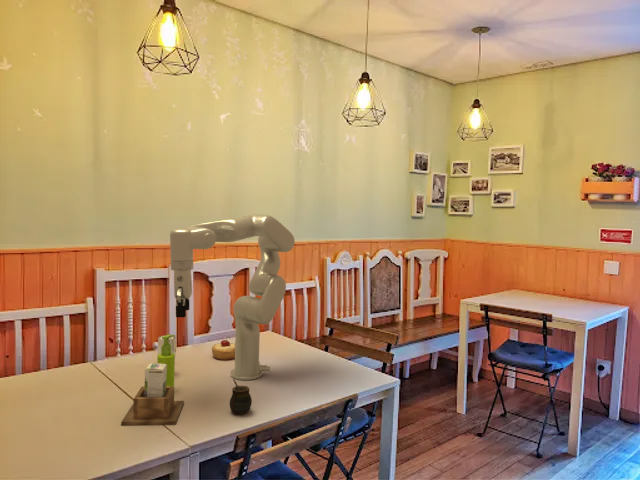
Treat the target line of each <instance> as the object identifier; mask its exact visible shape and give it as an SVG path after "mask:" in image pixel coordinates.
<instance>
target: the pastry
mask: <svg viewBox="0 0 640 480" xmlns="http://www.w3.org/2000/svg"><path fill="white" fill-rule="evenodd" d="M228 338H229V340H232V338H231V337H230V336H226V338H225V339H222V340H221V341H220V343H217V344H216V343H215V344H213V345H212V347H211V353H212V357H214V359H216V360H219V361H228V360H230V361H231V360H233V359H234V360H235V343H233V342H231V343H230V341H229V340H227V339H228Z"/></svg>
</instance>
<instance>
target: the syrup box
mask: <svg viewBox="0 0 640 480" xmlns="http://www.w3.org/2000/svg"><path fill="white" fill-rule="evenodd" d="M166 373H167V365H166V364H160V363H149V364H148V365H147V367H146V368H145V369H144V386H143V387H144V397H165V396H166Z"/></svg>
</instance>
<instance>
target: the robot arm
mask: <svg viewBox="0 0 640 480" xmlns="http://www.w3.org/2000/svg"><path fill="white" fill-rule="evenodd" d="M254 237H258V238H257V241H258V242H257V243H258V246H259V249H260V256H261V257H260V259H259V264H258V265H257V267H256V269H255V271H254V274H252V277H251V279H250V281H249V283H248V290H249V292H250V293H251V294H253V295H255V296H258V297H255V296H251V295H243V296H240V297H238V298H237V299H236V300H235V302H234V305H233V315H234V317H233V318H234V322H235V339H234V341H235V342H234V344H235V358H234V369H232V370H231V371H230V377H232V378H233V379H234V380H239V381H241V380H242V381H251V380H256V379H259V378H261V377H262V376H263V372H271V366H268V365H267V364H261V363H260V337H261V334H260V333H261V330H260V329H261V328H260V325H268V324H270V322H271V321H272V320H273V318H274V317H275V315H276V313H277V312H278V309H279V307H280V305H281V303H282V301H283V299H284V297H285V294H286V290H287V284H286V281H285V279H284V277H282V276H281V275H278V273H279V271H280V268H281V257H280V253H288V252H290V251H292V250H293V248H294V246H295V243H296V242H295V236H294V235H293V233H292V232H291V231H290V230H289V229H287V227H286V226H284V225H283V223H281V222H280V221H279V220H278V219H276V218H275V217H273V216H272V215H267V214H251V215H245V216H242V217H235V218H230V219H223V220H218V221H212V222H205V223H198V224H193V225H190V226H189V225H188V226H186V227H185V228H175V229H172V230H170V233H169V243H170V244H169V247H170V249H169V250H170V252H169V253H170V271H173V289H174V290H173V293H174V295H173V296H174V299H176V301H175V317H176V318H186V317H187V311H190V298H191V296H192V294H193V285H192V270H194V250H209V249H211V248H212V247H214V246H215V244H216V243H233V242H238V241H242V240H246V239H249V238H254ZM260 297H261V298H260Z"/></svg>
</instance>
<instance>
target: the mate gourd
mask: <svg viewBox="0 0 640 480" xmlns="http://www.w3.org/2000/svg"><path fill="white" fill-rule="evenodd" d="M232 381H233V382H234V385H235V386H233V387H232V394H231V397H230V399H229V409H230V410H231V412H232V413H233V414H235V415H240V416H241V415H246V414H247V413H248V412H249V411H250V410H251V407H252V396H251V394H250V387H249V386H247V385H238V384H237V381H236V379H235V378H233V379H232Z"/></svg>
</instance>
